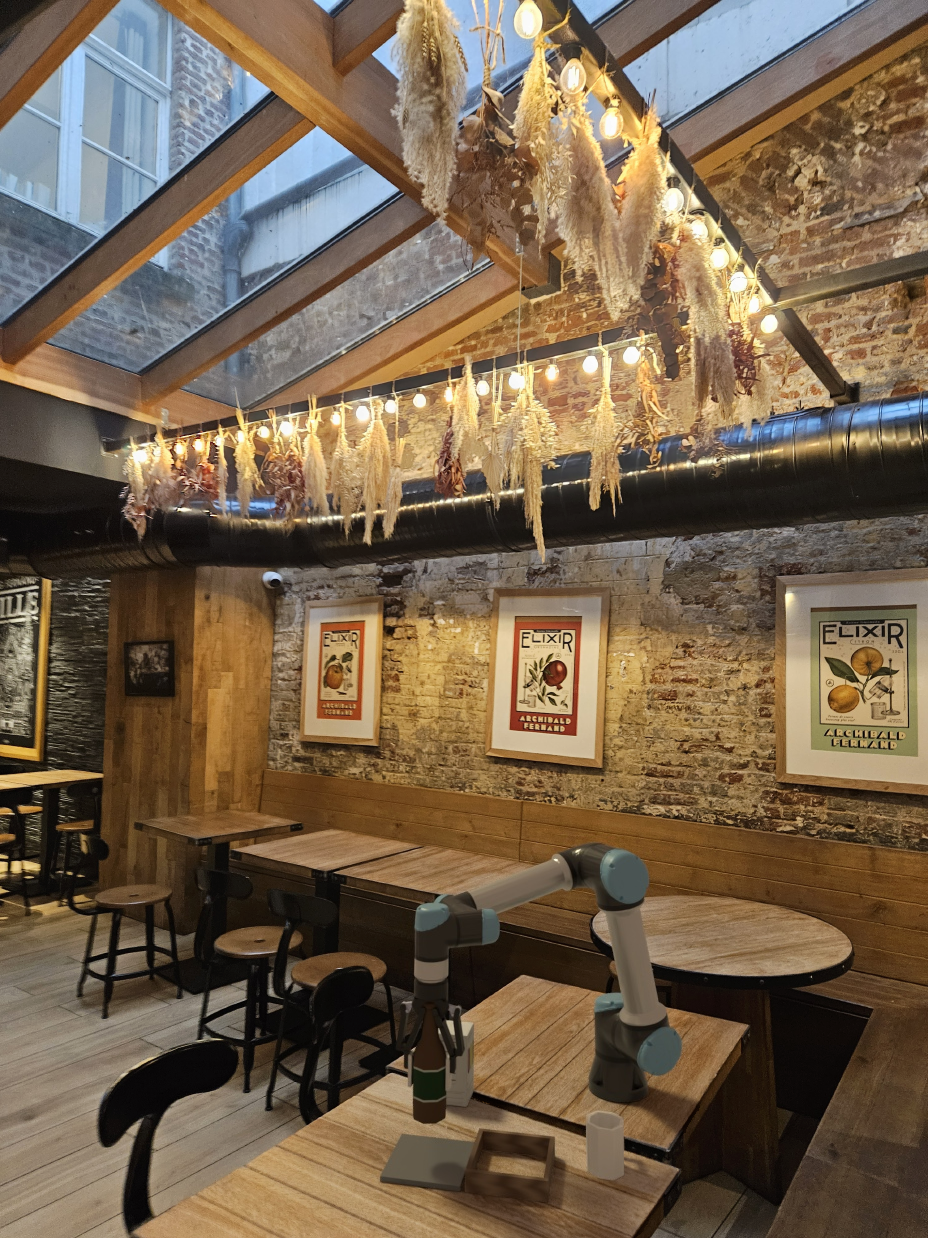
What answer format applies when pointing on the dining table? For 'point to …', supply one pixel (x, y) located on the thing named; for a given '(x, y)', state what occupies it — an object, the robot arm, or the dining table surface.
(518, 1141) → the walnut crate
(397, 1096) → the dining table surface
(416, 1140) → the slate pad
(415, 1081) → the beer bottle
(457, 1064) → the supplement box
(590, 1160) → the mug
